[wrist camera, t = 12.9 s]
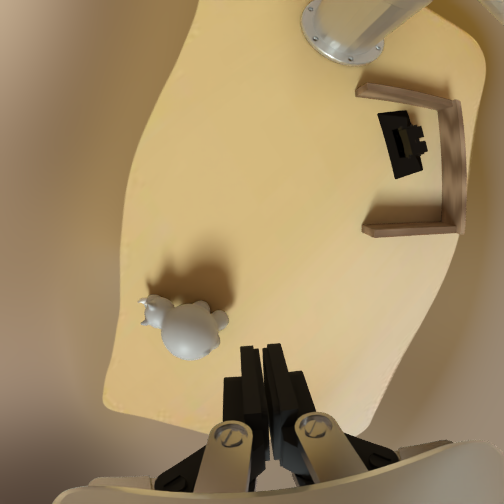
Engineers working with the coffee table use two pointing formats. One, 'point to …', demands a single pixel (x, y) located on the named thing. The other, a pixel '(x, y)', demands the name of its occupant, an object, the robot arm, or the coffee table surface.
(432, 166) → the coffee table surface
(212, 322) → the white animal figurine
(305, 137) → the coffee table surface
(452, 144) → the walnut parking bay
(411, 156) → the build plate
